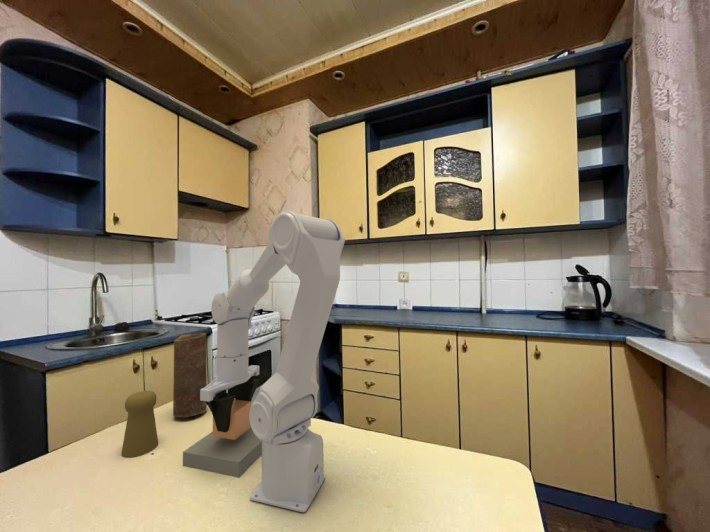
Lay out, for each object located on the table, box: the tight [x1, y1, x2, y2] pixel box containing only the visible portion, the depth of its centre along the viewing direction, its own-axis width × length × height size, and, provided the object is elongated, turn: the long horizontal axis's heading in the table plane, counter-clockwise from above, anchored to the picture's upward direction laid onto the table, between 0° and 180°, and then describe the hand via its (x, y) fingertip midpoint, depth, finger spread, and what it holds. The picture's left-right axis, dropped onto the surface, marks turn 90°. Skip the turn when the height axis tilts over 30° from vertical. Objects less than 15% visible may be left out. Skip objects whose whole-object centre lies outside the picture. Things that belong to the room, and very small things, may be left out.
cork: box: [120, 390, 159, 459], centre depth 59 cm, size 6×6×11 cm
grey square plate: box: [182, 427, 262, 479], centre depth 57 cm, size 12×12×3 cm
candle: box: [172, 332, 208, 418], centre depth 73 cm, size 8×7×20 cm
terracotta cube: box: [212, 399, 252, 440], centre depth 57 cm, size 5×5×5 cm
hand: (233, 423), depth 57 cm, fingers closed on terracotta cube, 5 cm apart
